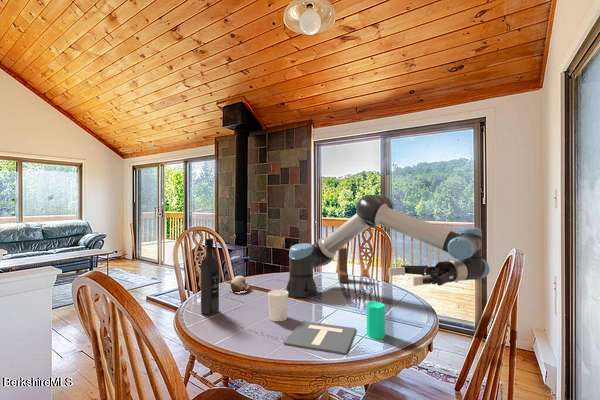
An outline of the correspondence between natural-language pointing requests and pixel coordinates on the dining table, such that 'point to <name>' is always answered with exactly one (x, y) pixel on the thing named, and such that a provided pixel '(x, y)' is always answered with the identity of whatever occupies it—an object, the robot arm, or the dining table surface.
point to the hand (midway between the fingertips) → (400, 276)
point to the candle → (375, 320)
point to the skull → (240, 284)
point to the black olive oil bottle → (209, 281)
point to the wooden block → (342, 265)
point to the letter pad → (321, 337)
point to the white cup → (278, 305)
